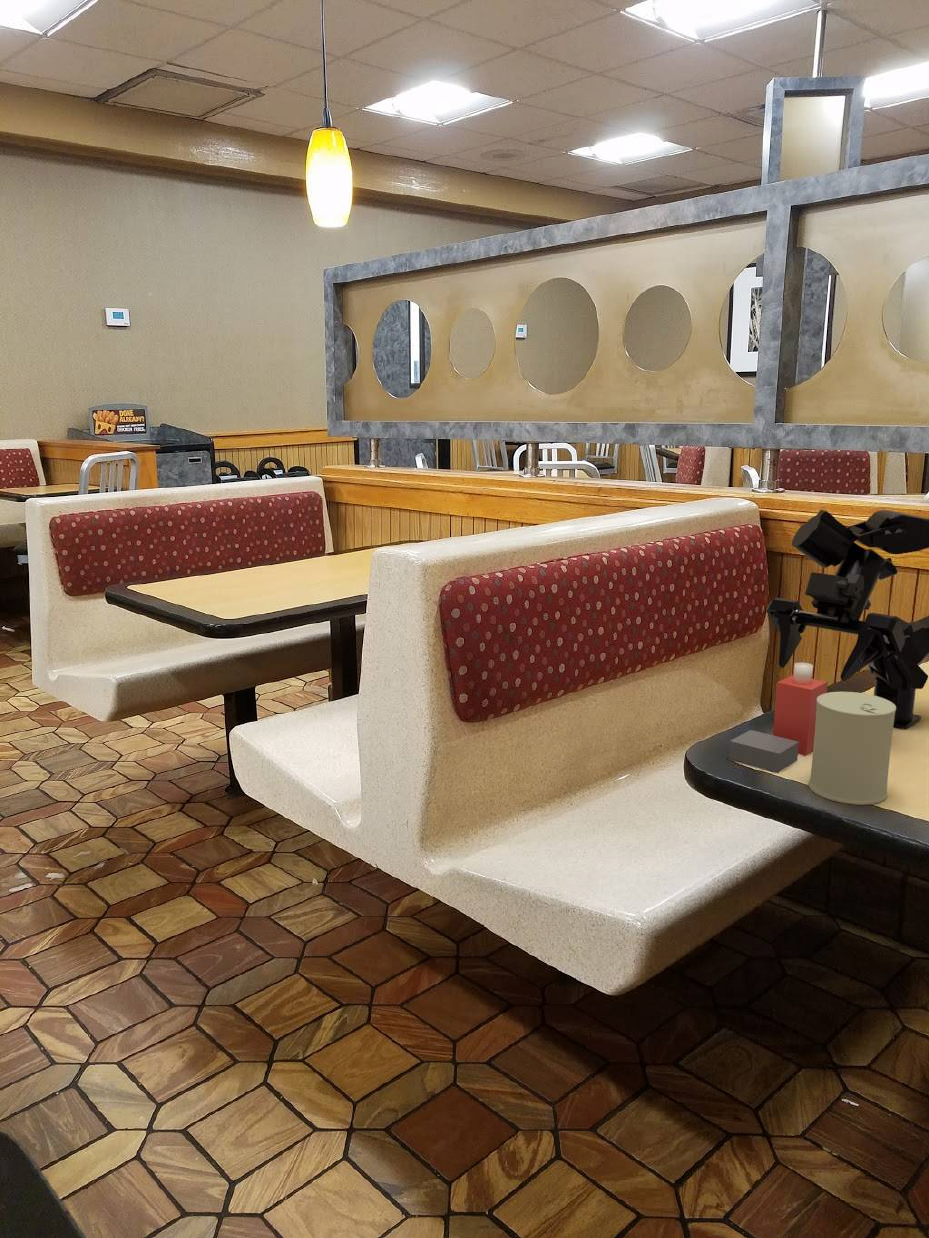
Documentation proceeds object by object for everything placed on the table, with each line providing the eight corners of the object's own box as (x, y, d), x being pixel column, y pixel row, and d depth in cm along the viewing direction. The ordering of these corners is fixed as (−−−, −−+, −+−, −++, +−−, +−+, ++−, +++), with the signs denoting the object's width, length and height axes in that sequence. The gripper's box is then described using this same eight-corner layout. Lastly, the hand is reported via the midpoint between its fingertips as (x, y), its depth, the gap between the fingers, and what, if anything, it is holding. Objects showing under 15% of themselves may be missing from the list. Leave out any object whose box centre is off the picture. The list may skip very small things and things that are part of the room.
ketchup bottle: (788, 738, 140) (794, 657, 137) (821, 746, 137) (829, 664, 134) (771, 747, 136) (778, 664, 134) (806, 756, 133) (813, 672, 130)
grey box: (748, 750, 136) (750, 729, 135) (796, 762, 132) (798, 741, 131) (728, 761, 132) (730, 740, 131) (777, 775, 127) (779, 753, 126)
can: (838, 808, 116) (847, 713, 113) (793, 780, 125) (801, 690, 122) (903, 800, 119) (914, 707, 116) (855, 772, 127) (863, 685, 124)
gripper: (776, 544, 143) (732, 629, 138) (904, 558, 130) (861, 653, 125) (798, 588, 150) (757, 671, 145) (922, 606, 137) (881, 698, 132)
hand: (810, 672), depth 137 cm, fingers open, 9 cm apart
